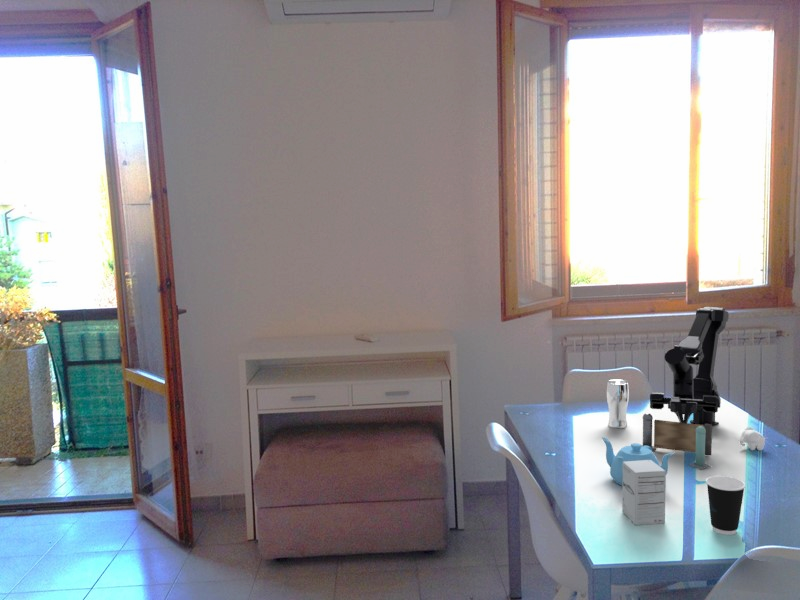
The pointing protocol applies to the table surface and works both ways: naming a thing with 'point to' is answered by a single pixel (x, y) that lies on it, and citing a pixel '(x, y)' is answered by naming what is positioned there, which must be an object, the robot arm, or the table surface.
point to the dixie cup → (725, 503)
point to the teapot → (630, 458)
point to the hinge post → (647, 431)
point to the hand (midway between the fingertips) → (683, 428)
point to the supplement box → (643, 492)
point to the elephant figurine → (752, 439)
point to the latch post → (700, 449)
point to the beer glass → (617, 403)
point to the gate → (680, 436)
